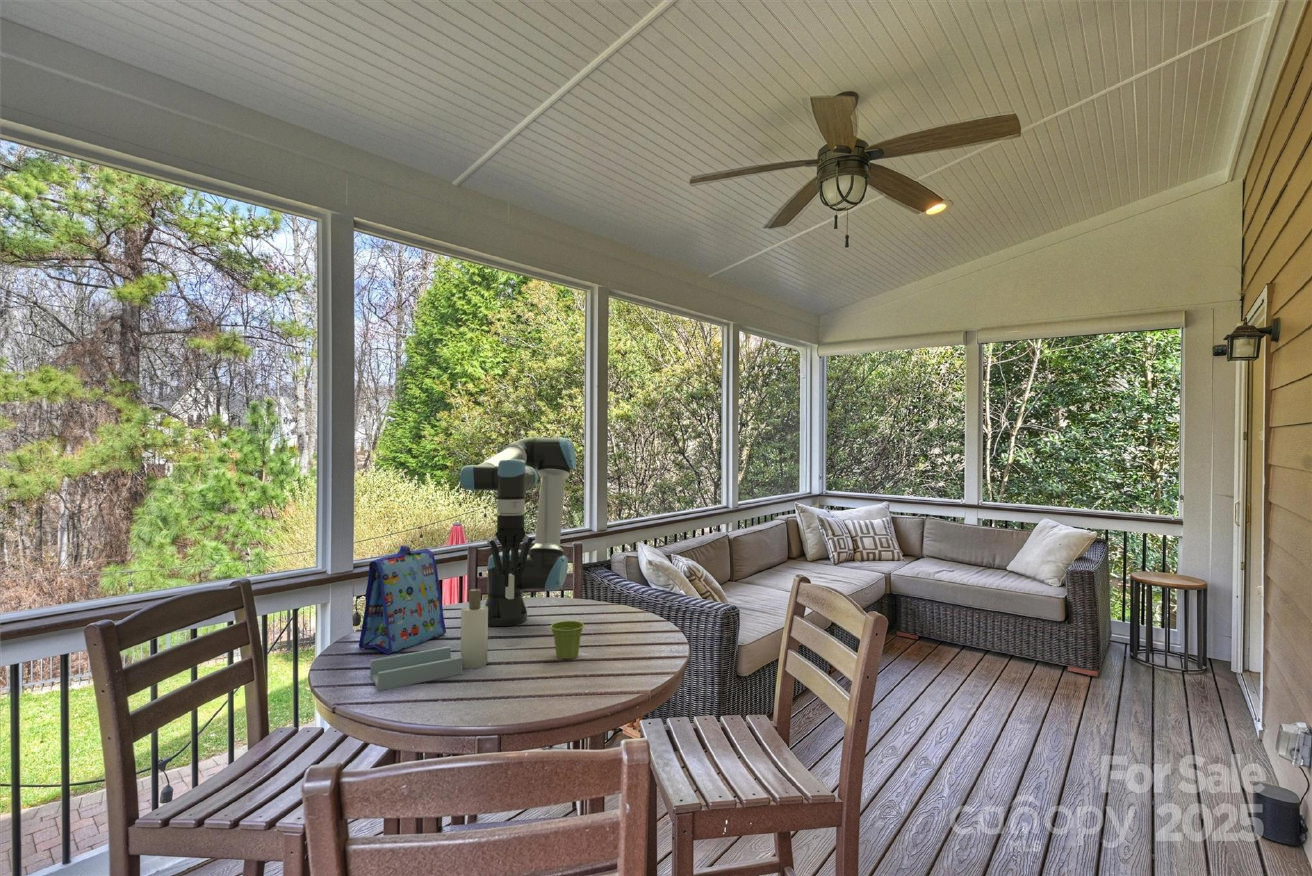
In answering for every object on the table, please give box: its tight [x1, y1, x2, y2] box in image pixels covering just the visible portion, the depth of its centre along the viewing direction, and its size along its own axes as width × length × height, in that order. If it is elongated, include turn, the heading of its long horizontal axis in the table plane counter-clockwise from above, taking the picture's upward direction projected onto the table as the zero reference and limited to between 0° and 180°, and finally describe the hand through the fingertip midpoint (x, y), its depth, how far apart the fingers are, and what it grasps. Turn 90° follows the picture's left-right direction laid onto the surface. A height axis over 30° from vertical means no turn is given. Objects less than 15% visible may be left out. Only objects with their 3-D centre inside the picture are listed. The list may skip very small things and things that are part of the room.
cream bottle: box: [460, 588, 489, 669], centre depth 166 cm, size 7×7×20 cm
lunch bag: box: [358, 544, 447, 655], centre depth 184 cm, size 22×14×29 cm, turn 154°
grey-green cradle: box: [369, 645, 463, 692], centre depth 157 cm, size 20×11×4 cm, turn 124°
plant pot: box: [550, 620, 585, 660], centre depth 172 cm, size 9×9×9 cm
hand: (509, 598), depth 171 cm, fingers closed
